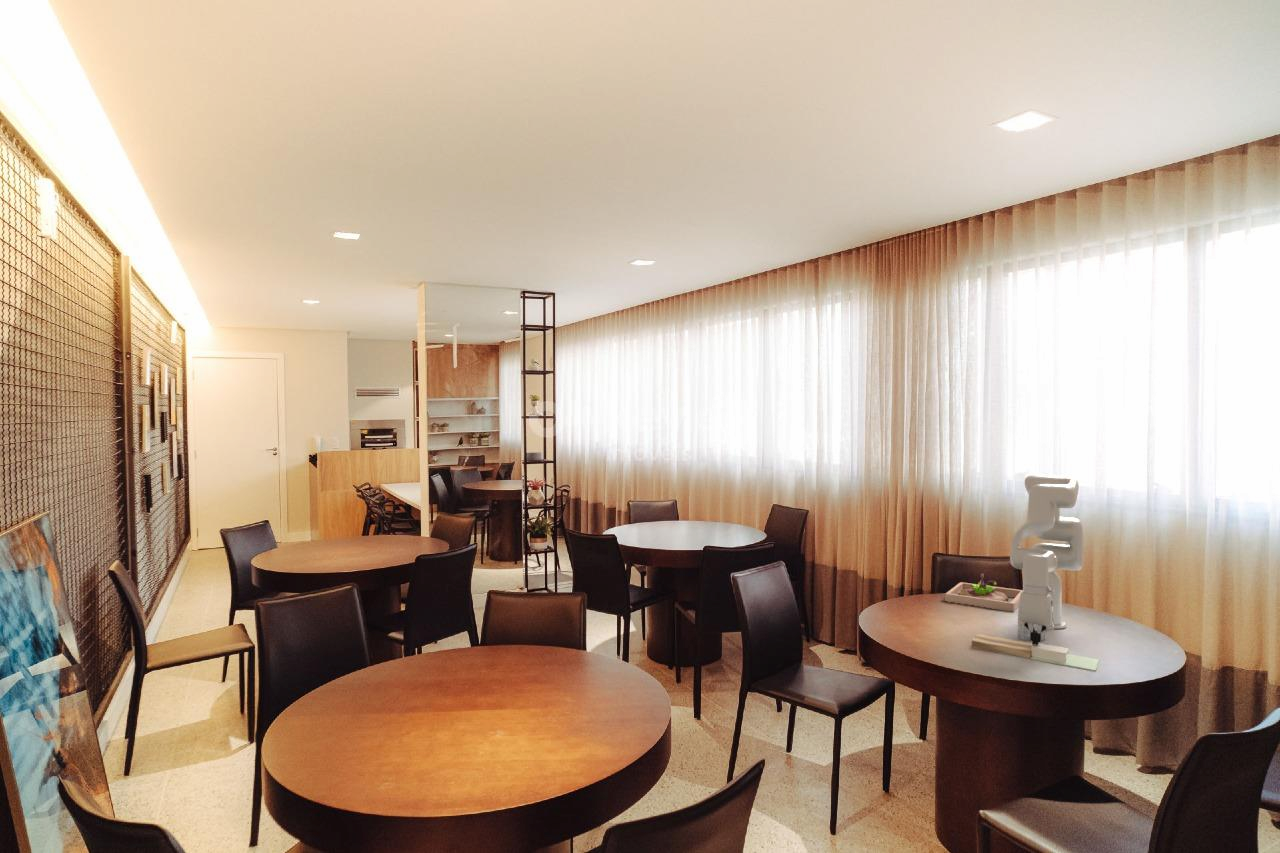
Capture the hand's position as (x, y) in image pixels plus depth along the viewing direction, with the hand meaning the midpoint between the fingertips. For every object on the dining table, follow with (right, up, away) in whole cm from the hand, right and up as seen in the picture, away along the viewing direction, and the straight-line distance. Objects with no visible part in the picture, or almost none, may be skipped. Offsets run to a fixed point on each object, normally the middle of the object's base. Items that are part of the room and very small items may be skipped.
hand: (1035, 643), depth 233 cm
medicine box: (+9, -4, +17) cm, 20 cm away
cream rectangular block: (+3, -3, -3) cm, 6 cm away
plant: (+19, -4, +73) cm, 76 cm away
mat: (+7, -4, -5) cm, 9 cm away
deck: (-8, -4, +6) cm, 11 cm away
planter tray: (+19, -3, +71) cm, 73 cm away
